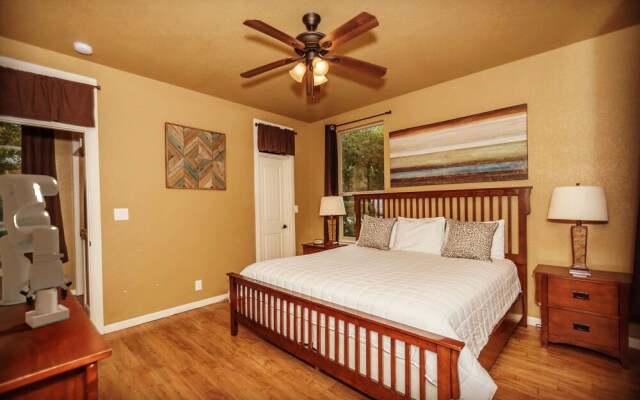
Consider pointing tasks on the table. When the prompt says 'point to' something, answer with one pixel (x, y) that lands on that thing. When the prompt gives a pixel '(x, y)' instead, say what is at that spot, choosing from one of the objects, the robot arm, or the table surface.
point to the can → (46, 301)
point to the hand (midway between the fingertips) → (47, 303)
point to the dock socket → (47, 317)
